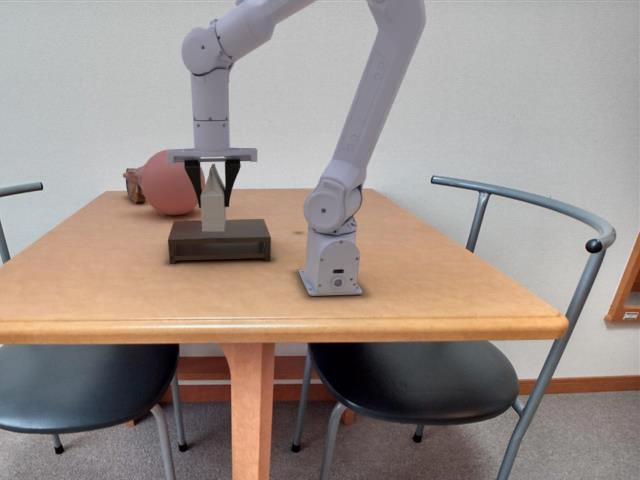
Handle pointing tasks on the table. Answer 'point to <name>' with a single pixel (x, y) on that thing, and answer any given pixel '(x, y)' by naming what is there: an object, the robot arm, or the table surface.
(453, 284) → the table surface
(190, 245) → the dark brown low stand
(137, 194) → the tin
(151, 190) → the balloon
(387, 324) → the table surface
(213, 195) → the milk carton
